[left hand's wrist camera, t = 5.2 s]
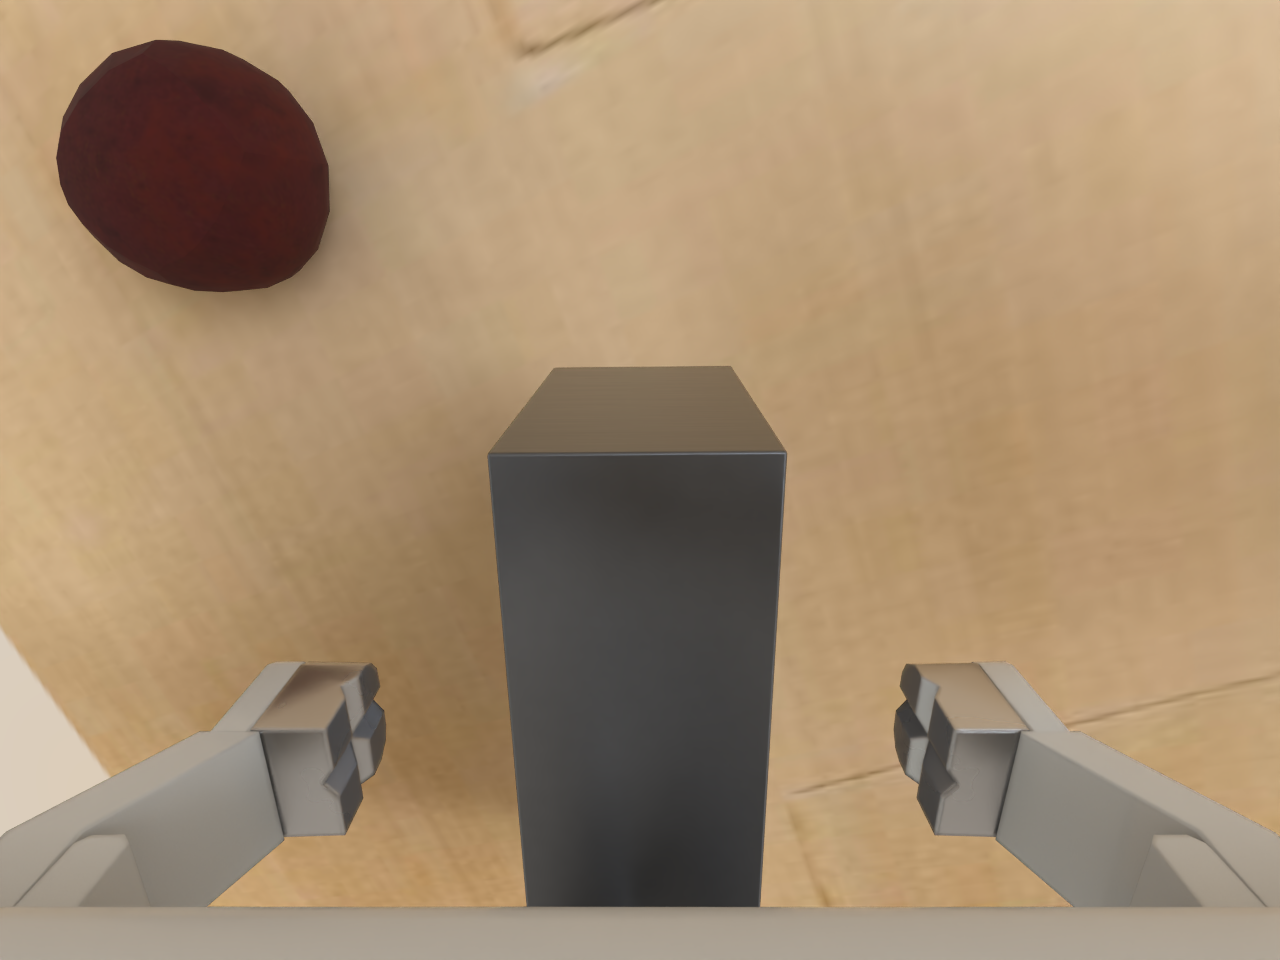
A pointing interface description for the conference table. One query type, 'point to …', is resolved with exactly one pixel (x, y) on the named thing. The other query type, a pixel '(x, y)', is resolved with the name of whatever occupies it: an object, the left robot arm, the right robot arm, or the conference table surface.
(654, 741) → the bar
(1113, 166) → the conference table surface
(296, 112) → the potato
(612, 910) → the left robot arm
